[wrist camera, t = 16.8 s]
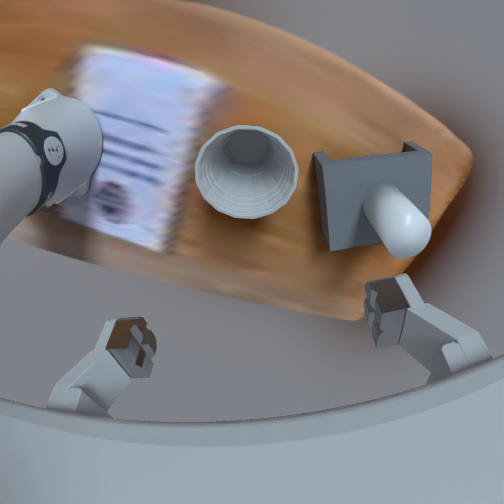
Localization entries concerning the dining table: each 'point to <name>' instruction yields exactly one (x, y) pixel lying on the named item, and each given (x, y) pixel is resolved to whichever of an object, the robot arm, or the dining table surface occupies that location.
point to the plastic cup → (246, 172)
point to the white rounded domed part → (396, 220)
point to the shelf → (359, 182)
